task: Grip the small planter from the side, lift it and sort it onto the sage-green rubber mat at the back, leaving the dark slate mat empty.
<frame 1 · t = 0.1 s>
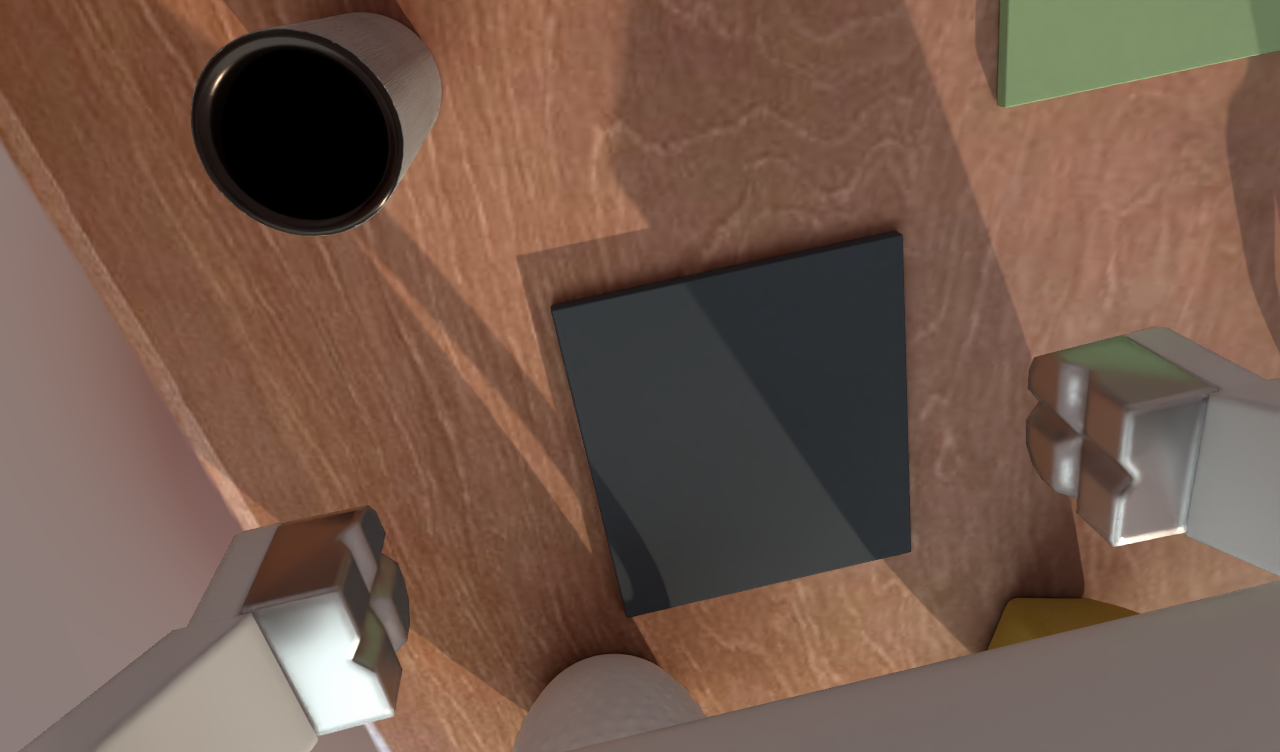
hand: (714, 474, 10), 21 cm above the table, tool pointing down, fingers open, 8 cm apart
planter: (374, 84, 27), on the table
flower pot: (1033, 629, 43), on the table
slate mat: (748, 438, 35), on the table
mug: (627, 698, 41), on the table
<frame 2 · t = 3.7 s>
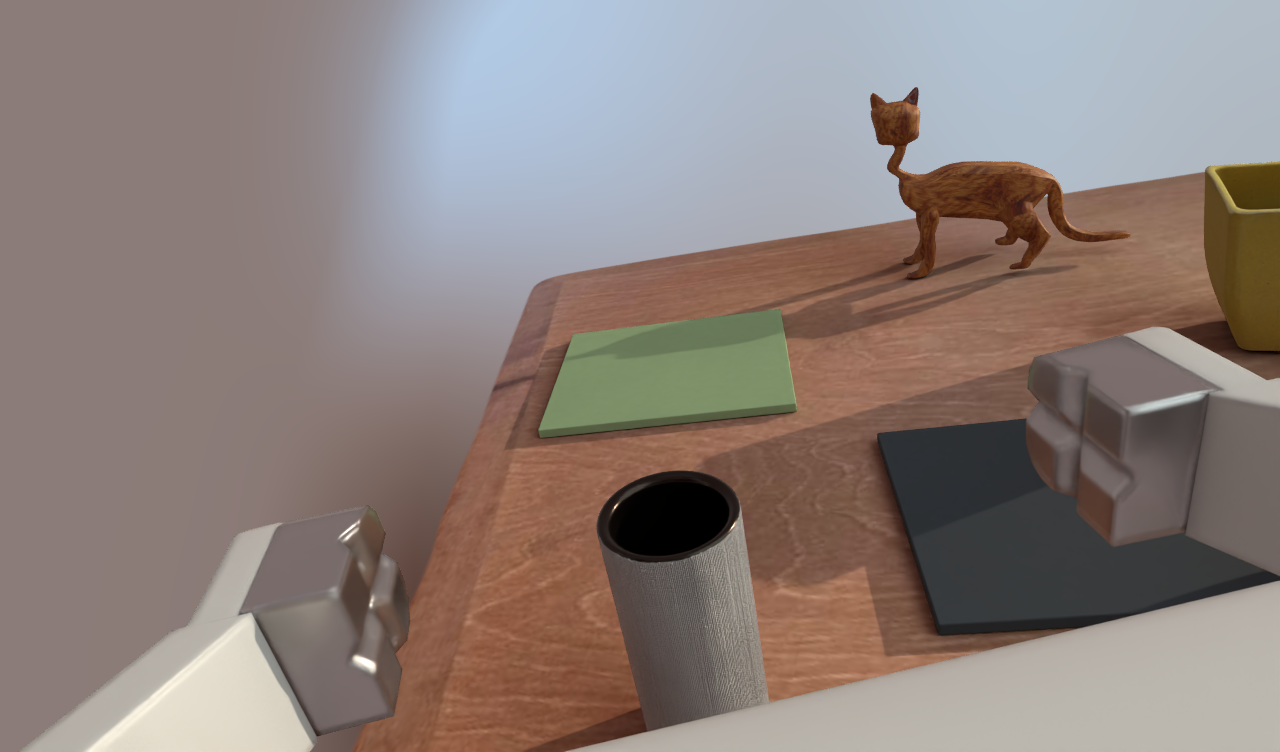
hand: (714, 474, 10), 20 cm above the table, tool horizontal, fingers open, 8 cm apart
planter: (711, 736, 30), on the table
sage mat: (671, 371, 56), on the table
slate mat: (1084, 508, 37), on the table
cat figurine: (998, 264, 62), on the table
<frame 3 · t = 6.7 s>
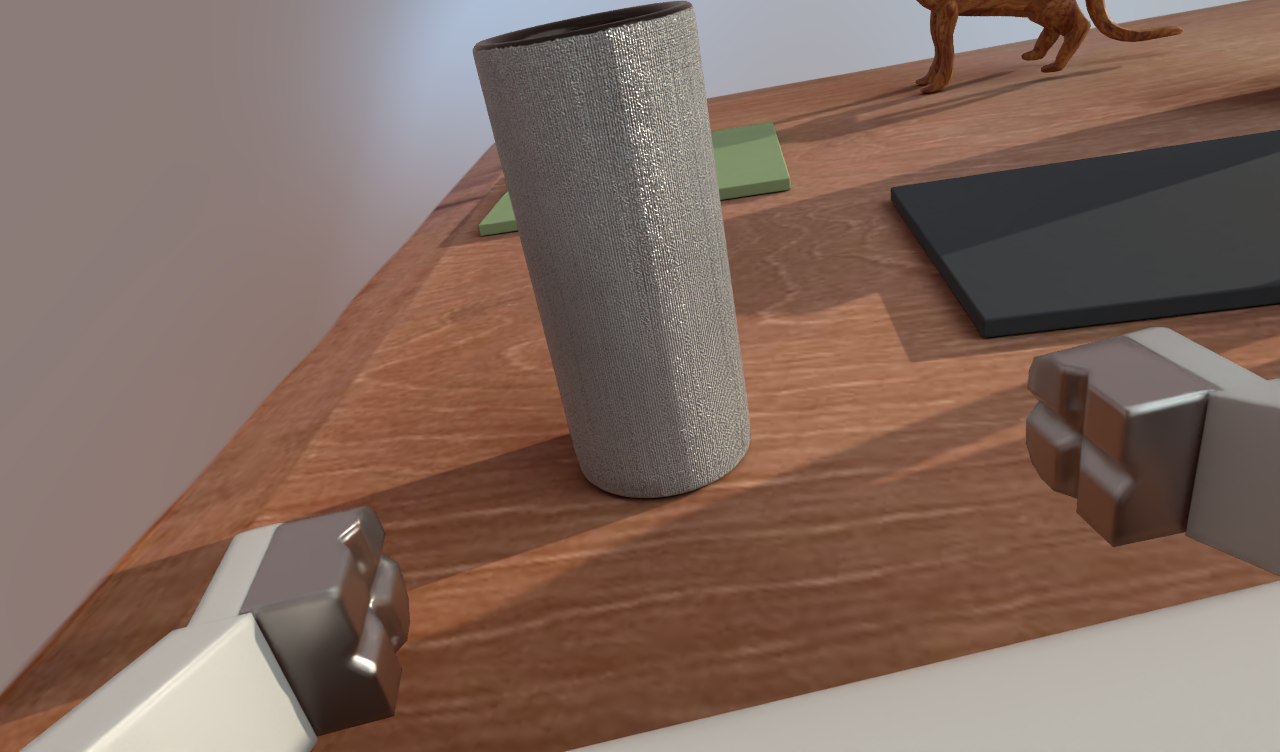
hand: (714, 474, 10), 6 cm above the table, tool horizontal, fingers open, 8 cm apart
planter: (665, 454, 21), on the table
sage mat: (642, 178, 47), on the table
slate mat: (1166, 223, 28), on the table
cat figurine: (1026, 76, 54), on the table
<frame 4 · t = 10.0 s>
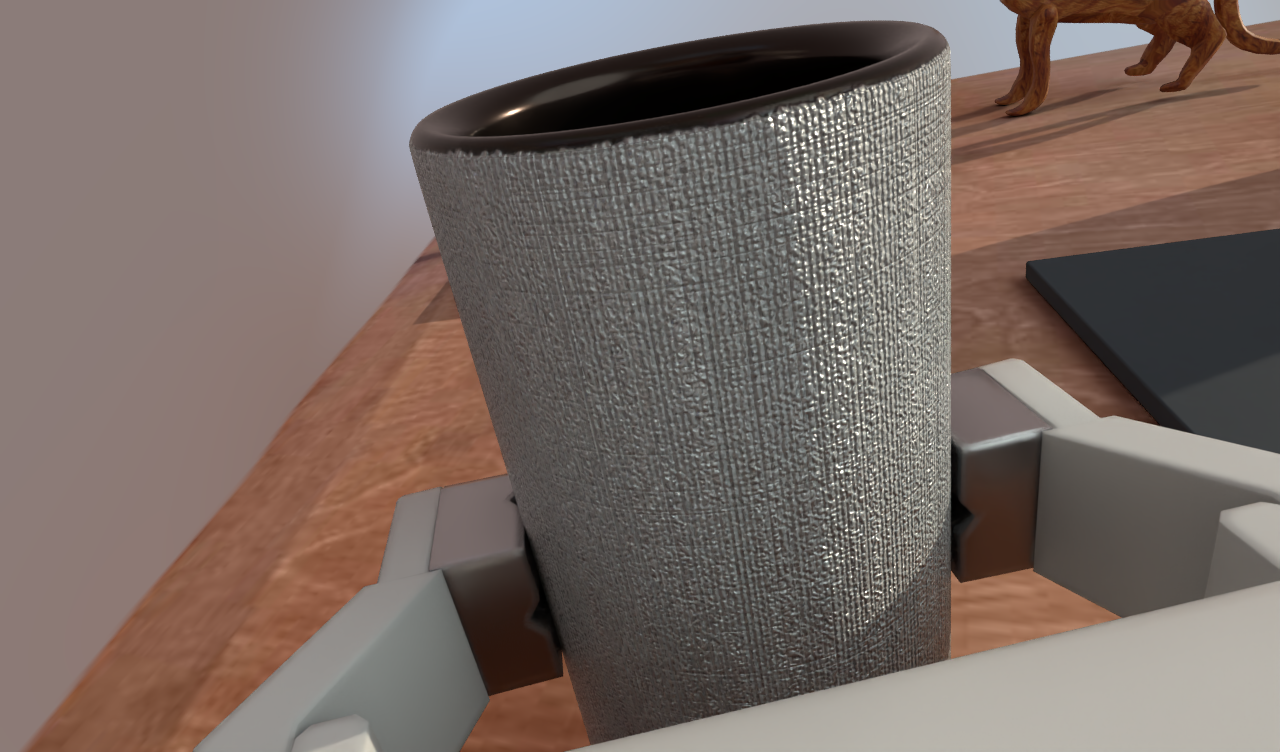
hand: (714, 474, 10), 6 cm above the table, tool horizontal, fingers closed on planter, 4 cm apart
cat figurine: (1135, 95, 44), on the table
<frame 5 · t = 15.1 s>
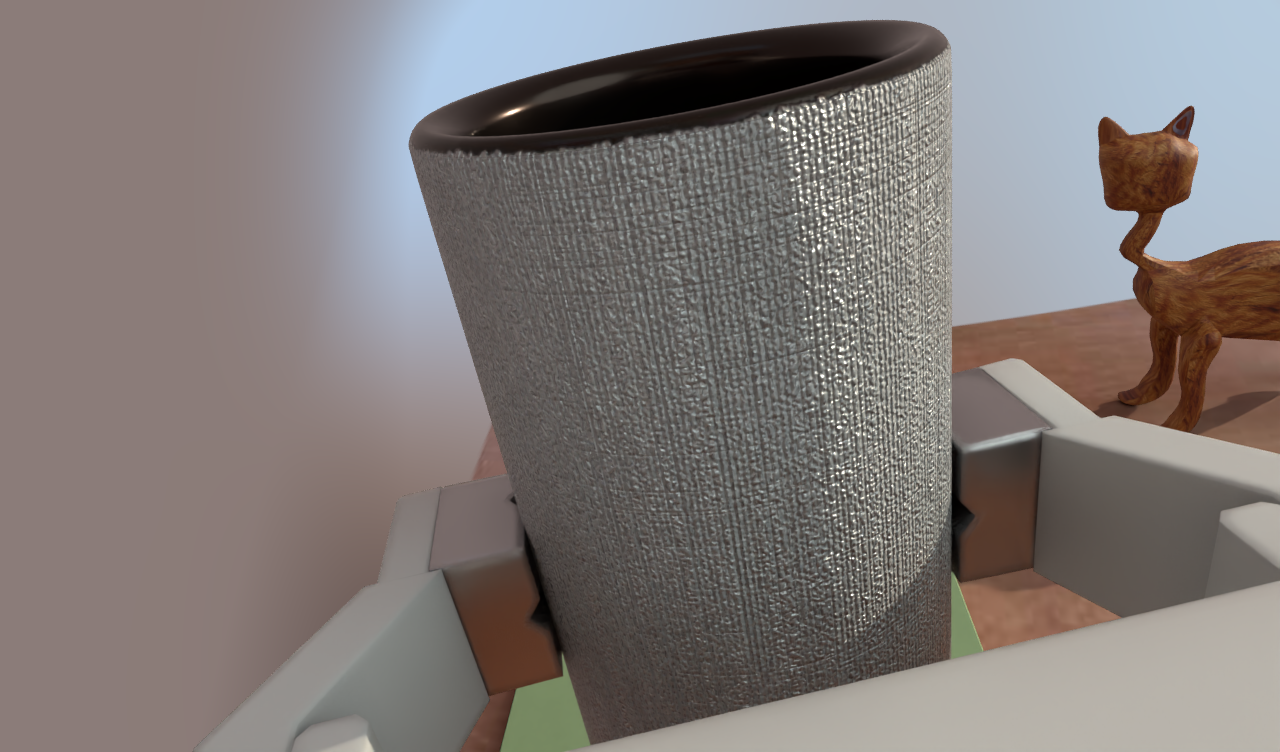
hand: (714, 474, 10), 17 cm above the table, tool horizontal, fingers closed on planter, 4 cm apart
sage mat: (742, 662, 29), on the table
when the fingers open (6 cm above the table, at t = 20.3 s): planter stays where it is, resting on sage mat.
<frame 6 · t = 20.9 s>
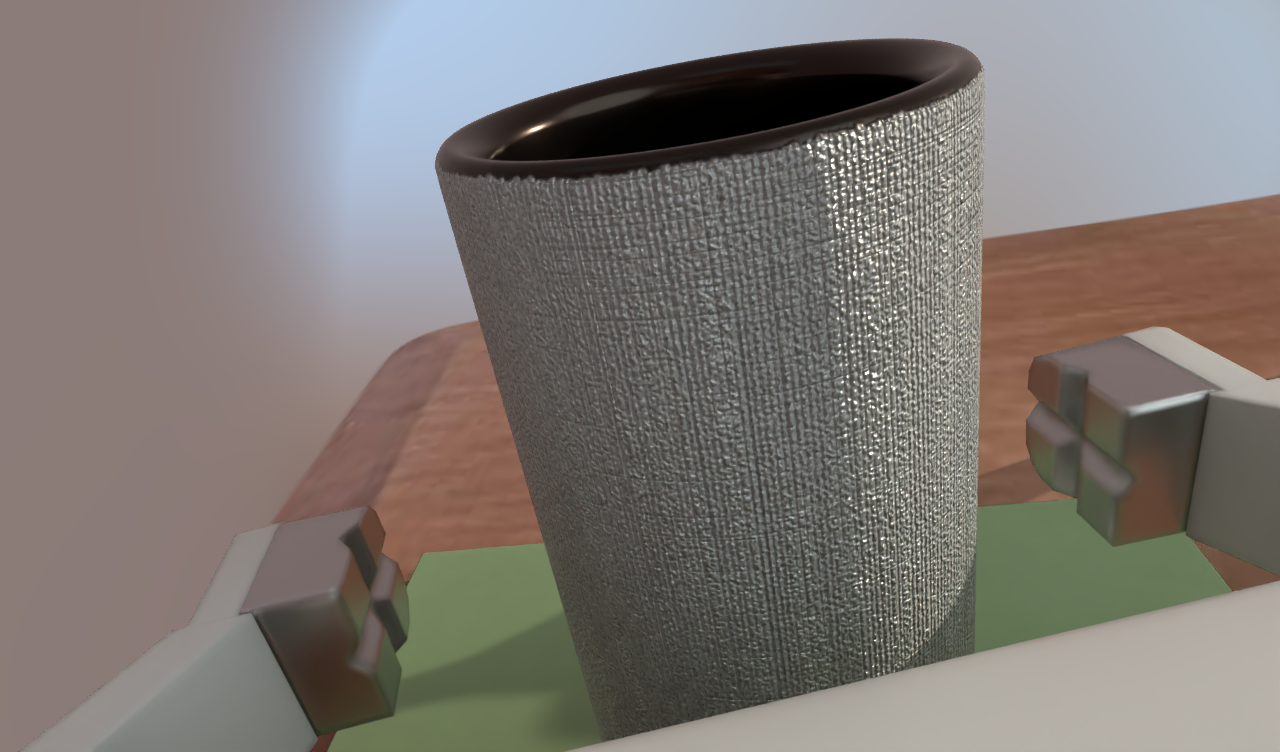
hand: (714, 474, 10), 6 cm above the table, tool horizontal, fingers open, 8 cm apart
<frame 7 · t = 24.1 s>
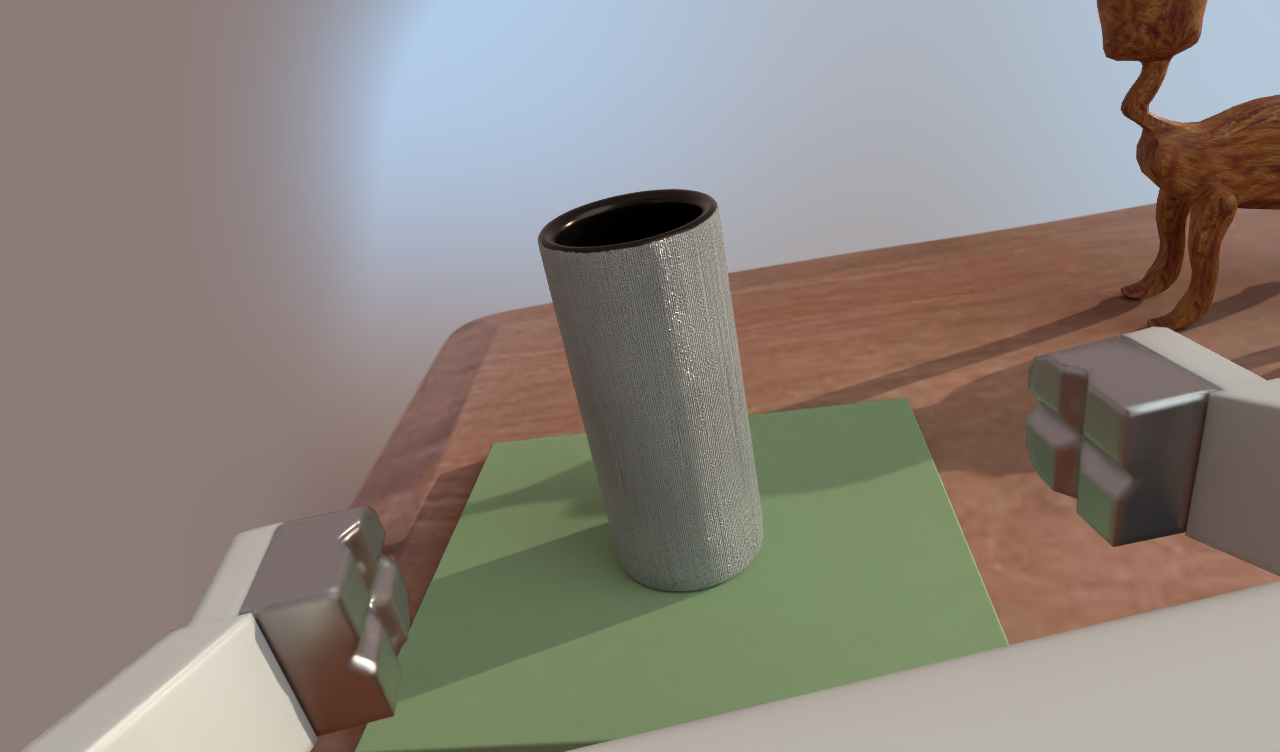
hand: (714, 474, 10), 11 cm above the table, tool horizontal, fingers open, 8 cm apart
planter: (691, 546, 25), resting on sage mat
sage mat: (687, 555, 25), on the table
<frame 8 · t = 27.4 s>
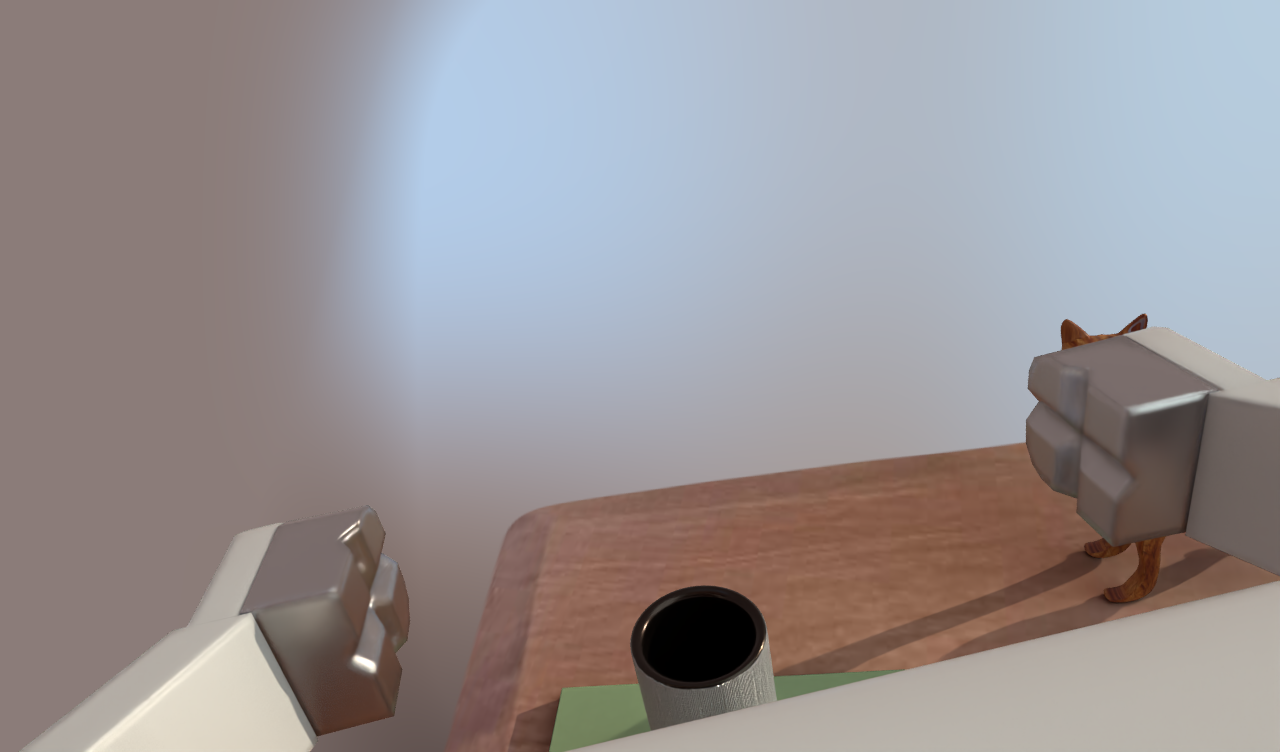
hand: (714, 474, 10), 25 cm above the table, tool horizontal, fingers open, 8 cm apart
cat figurine: (1253, 577, 38), on the table
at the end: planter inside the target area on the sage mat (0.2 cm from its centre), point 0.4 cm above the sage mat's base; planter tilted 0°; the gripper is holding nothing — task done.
